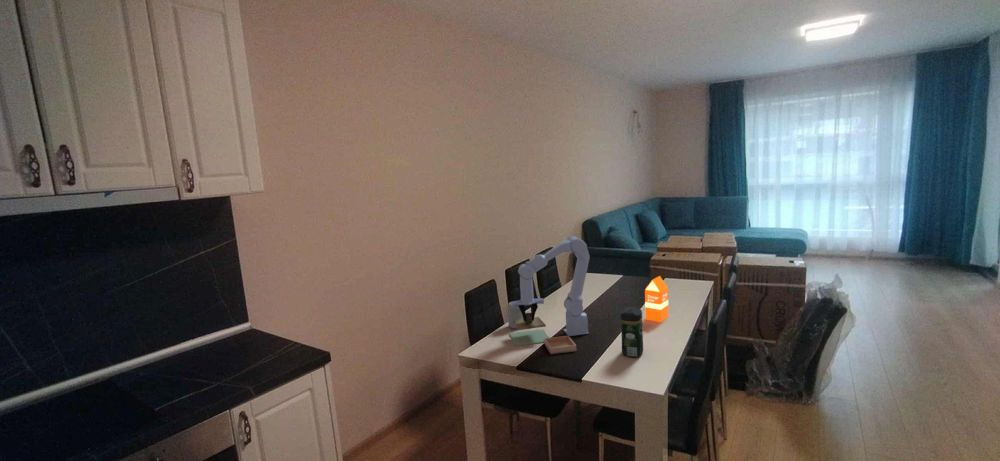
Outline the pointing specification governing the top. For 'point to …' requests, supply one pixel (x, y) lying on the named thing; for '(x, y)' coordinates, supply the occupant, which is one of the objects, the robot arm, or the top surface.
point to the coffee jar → (632, 332)
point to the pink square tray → (560, 344)
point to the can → (513, 315)
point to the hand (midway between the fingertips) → (528, 320)
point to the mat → (528, 337)
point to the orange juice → (656, 300)
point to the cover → (529, 322)
